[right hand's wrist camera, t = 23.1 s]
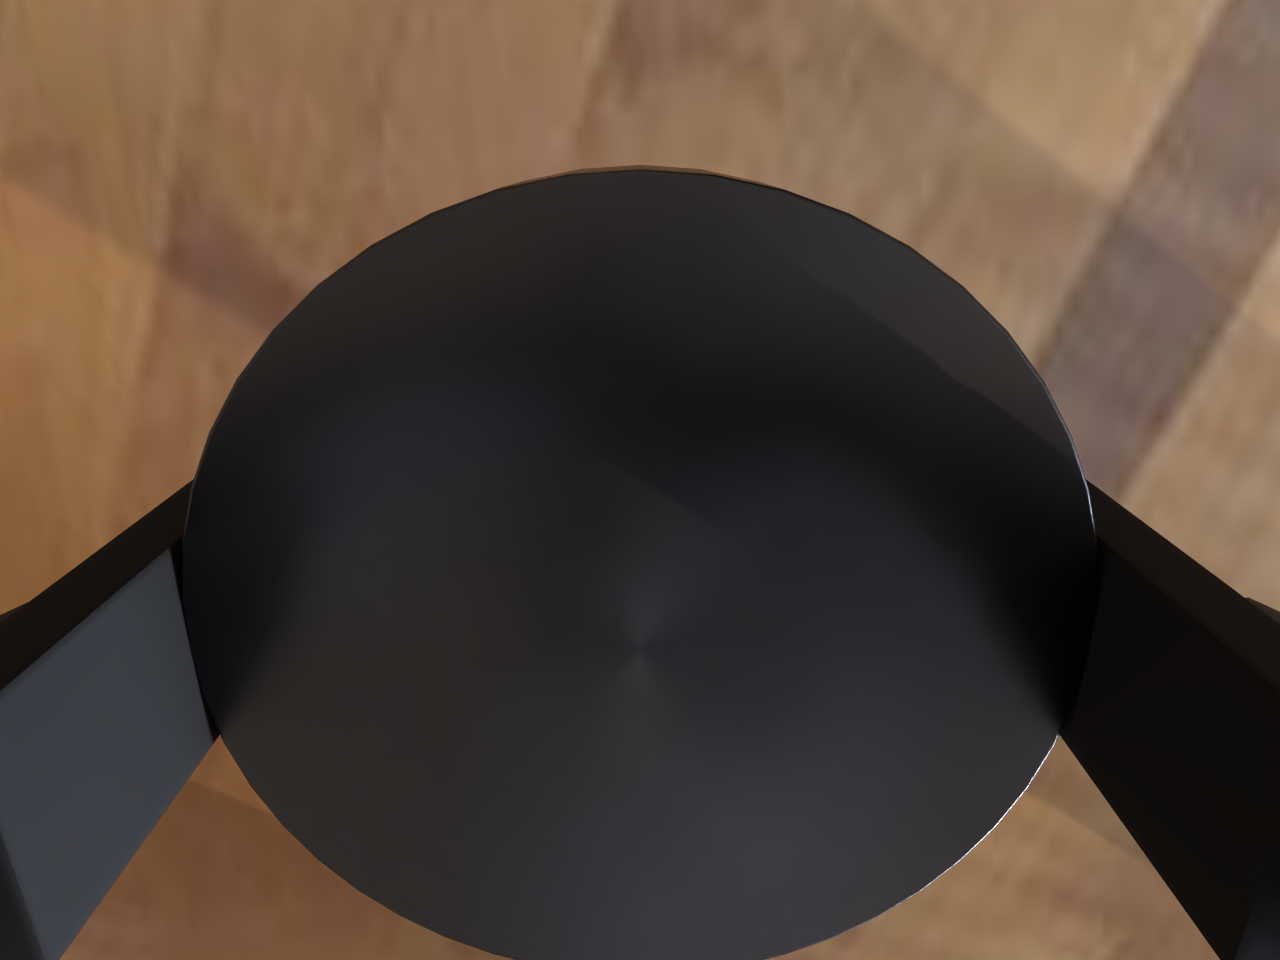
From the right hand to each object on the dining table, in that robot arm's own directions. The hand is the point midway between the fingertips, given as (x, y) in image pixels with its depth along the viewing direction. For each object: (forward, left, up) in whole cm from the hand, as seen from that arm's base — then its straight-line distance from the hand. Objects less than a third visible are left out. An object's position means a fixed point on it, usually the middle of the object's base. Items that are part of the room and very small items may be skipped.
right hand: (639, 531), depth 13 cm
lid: (0, 0, +3) cm, 3 cm away
